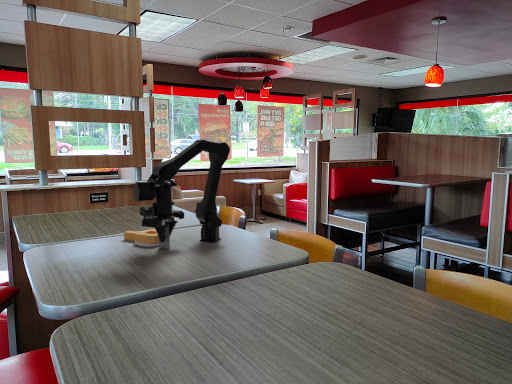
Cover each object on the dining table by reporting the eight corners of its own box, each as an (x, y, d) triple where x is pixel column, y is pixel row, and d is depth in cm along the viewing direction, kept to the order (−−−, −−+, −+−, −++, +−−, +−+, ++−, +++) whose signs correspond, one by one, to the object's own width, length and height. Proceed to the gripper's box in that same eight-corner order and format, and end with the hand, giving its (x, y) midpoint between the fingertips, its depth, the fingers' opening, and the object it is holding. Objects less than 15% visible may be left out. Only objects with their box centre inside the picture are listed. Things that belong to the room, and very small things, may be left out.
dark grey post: (169, 247, 138) (169, 223, 136) (166, 249, 135) (165, 225, 134) (162, 246, 139) (162, 223, 137) (159, 248, 136) (158, 224, 135)
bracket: (176, 239, 149) (175, 230, 148) (156, 248, 137) (156, 238, 136) (137, 235, 155) (137, 226, 155) (115, 242, 143) (114, 232, 143)
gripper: (160, 194, 146) (160, 233, 148) (128, 201, 129) (129, 245, 131) (184, 196, 142) (185, 236, 144) (155, 203, 125) (156, 248, 127)
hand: (164, 241), depth 137 cm, fingers closed on dark grey post, 2 cm apart
